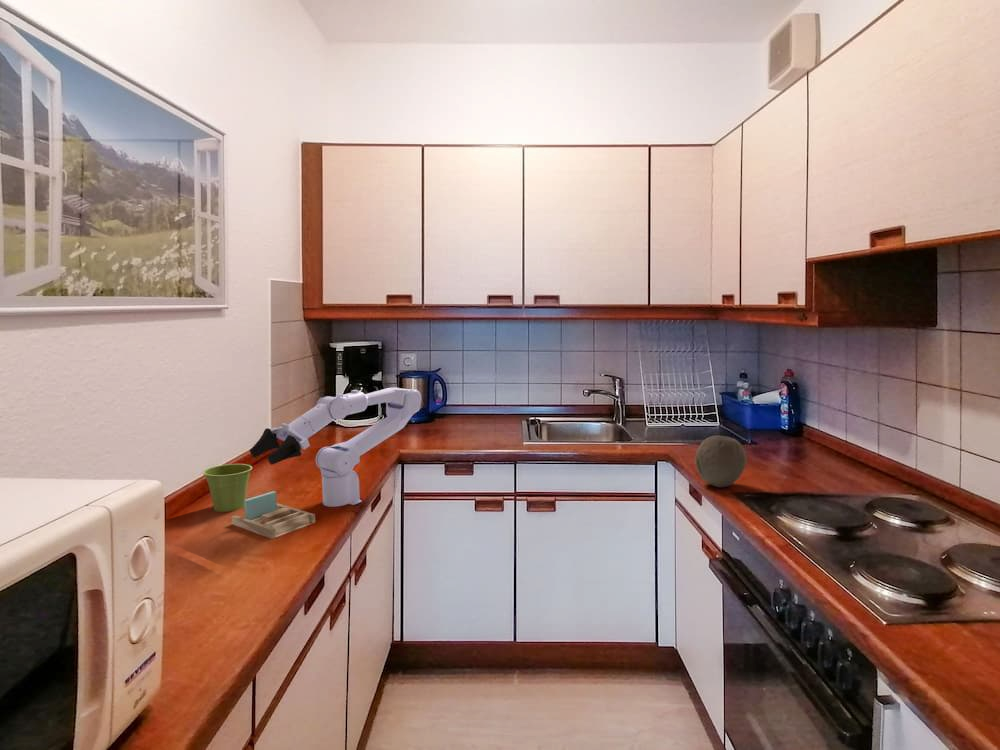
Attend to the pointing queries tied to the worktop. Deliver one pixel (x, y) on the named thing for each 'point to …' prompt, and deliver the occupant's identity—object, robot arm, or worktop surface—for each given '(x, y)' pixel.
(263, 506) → the teal rectangular plate
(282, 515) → the offcut upper
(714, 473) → the cantaloupe
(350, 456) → the robot arm
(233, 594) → the worktop surface
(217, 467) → the plant pot
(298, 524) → the rack
